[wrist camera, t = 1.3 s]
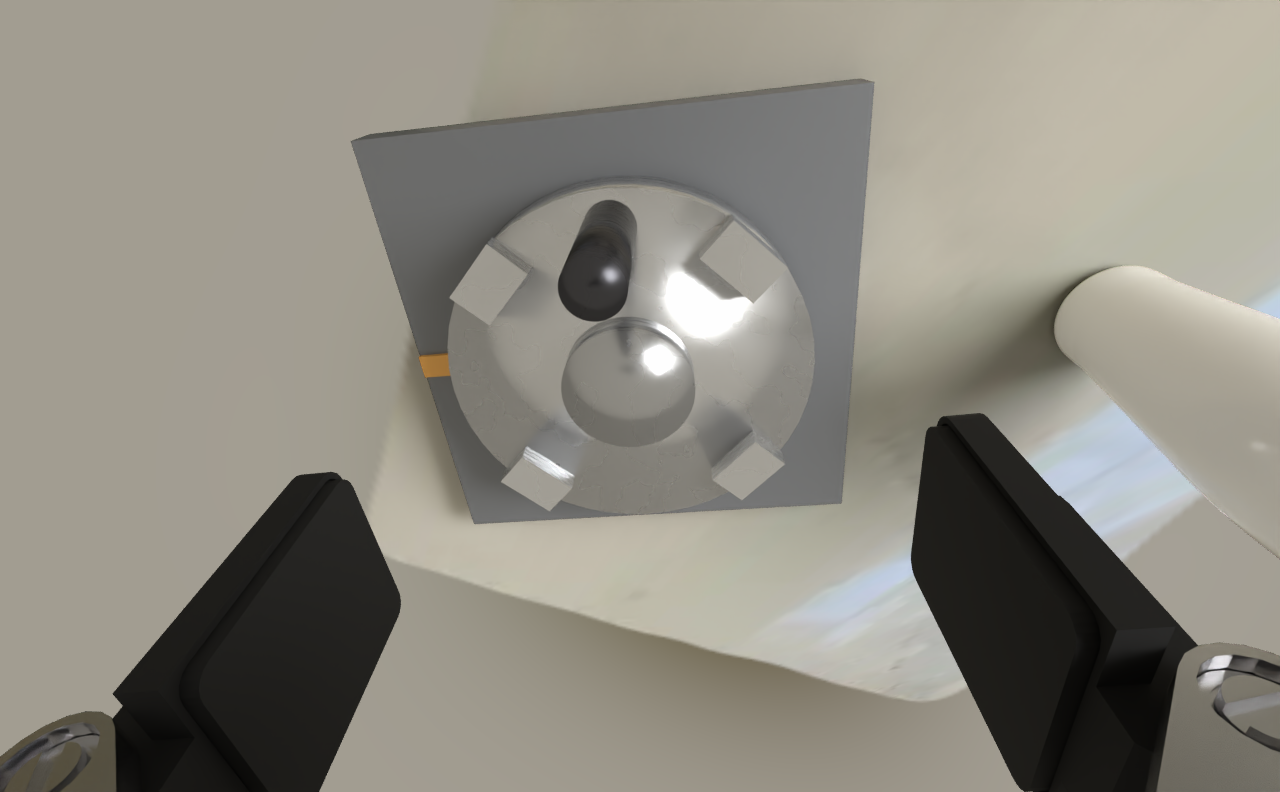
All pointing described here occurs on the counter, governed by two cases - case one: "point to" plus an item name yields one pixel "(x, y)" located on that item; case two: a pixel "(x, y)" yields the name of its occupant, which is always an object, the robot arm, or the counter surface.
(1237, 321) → the drinking glass
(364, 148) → the gray square base plate
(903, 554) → the counter surface
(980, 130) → the counter surface
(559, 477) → the round metal lid
